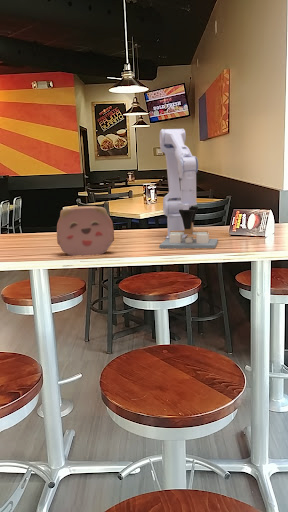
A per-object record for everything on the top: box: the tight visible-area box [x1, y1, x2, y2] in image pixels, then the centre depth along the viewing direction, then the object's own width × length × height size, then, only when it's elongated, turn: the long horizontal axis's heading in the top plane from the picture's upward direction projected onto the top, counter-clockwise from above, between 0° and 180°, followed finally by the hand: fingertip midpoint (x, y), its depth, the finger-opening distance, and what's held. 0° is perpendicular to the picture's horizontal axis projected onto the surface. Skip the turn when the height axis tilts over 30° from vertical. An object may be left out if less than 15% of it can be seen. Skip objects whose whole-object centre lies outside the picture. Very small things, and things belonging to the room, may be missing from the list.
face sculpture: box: [56, 205, 115, 257], centre depth 155 cm, size 20×7×17 cm, turn 94°
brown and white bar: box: [170, 222, 209, 236], centre depth 164 cm, size 3×14×4 cm, turn 76°
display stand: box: [159, 232, 219, 249], centre depth 165 cm, size 14×20×4 cm
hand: (189, 227), depth 164 cm, fingers open, 7 cm apart
